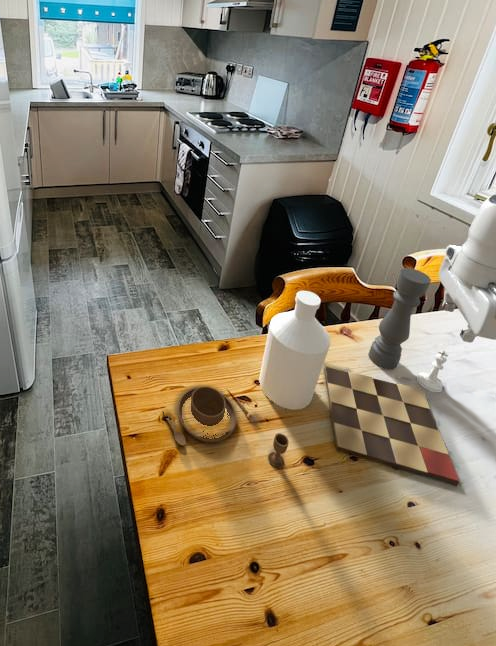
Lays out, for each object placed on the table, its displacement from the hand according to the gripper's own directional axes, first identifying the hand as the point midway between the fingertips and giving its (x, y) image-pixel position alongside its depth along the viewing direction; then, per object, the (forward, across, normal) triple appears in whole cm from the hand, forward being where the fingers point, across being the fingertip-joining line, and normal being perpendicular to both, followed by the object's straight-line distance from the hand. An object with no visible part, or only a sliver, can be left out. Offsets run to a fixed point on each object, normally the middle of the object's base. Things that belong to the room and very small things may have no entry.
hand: (455, 323), depth 84 cm
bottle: (+18, -12, +32) cm, 38 cm away
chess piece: (+18, 0, 0) cm, 18 cm away
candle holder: (+18, +4, +8) cm, 20 cm away
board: (+18, -14, +13) cm, 26 cm away
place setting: (+18, -28, +45) cm, 56 cm away
